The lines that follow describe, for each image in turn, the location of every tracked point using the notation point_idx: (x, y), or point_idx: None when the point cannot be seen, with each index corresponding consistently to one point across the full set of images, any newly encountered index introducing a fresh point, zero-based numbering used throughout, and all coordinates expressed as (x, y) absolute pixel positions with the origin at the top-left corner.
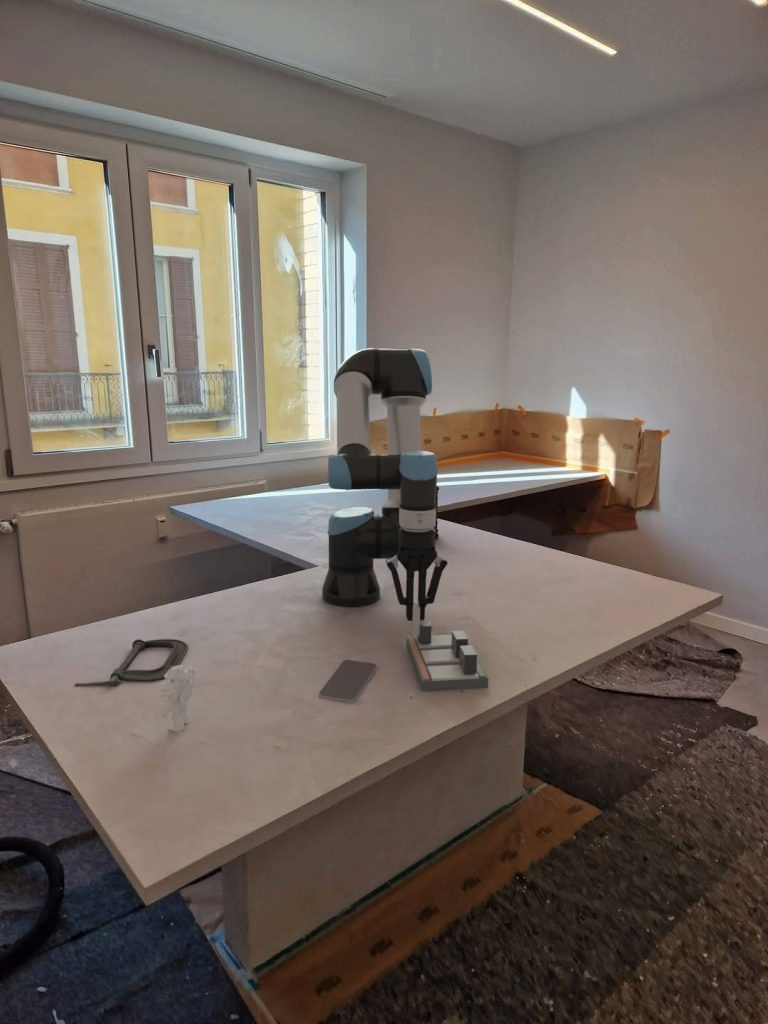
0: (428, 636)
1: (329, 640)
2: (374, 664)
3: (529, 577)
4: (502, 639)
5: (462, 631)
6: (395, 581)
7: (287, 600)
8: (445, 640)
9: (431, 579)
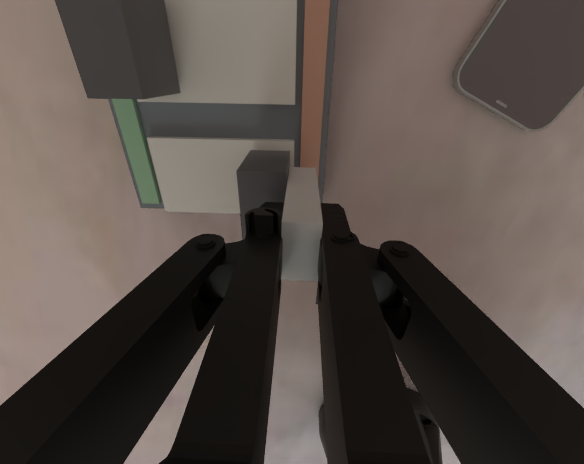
0: (256, 157)
1: (506, 263)
2: (462, 80)
3: None
4: (48, 211)
5: (89, 85)
6: (568, 412)
7: None
8: (199, 173)
9: (148, 413)
